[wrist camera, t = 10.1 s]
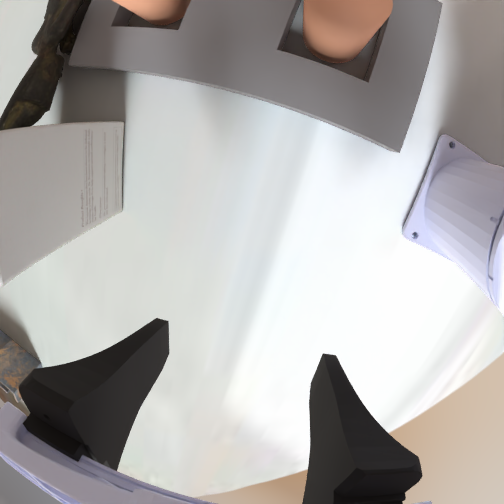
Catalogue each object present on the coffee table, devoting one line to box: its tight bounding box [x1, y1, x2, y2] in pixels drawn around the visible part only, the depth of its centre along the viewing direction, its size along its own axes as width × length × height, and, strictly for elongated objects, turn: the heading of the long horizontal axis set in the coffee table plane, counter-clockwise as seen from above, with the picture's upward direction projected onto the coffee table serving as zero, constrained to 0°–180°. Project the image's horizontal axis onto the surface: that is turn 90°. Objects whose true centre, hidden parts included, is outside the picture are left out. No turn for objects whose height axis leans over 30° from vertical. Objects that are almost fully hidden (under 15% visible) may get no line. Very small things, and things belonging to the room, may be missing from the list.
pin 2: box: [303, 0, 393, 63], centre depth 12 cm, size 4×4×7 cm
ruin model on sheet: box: [0, 330, 42, 402], centre depth 29 cm, size 11×3×10 cm, turn 69°
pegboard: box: [68, 0, 442, 153], centre depth 14 cm, size 24×12×2 cm, turn 72°
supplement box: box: [0, 121, 124, 287], centre depth 15 cm, size 7×7×13 cm
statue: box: [0, 0, 84, 131], centre depth 14 cm, size 6×6×20 cm
